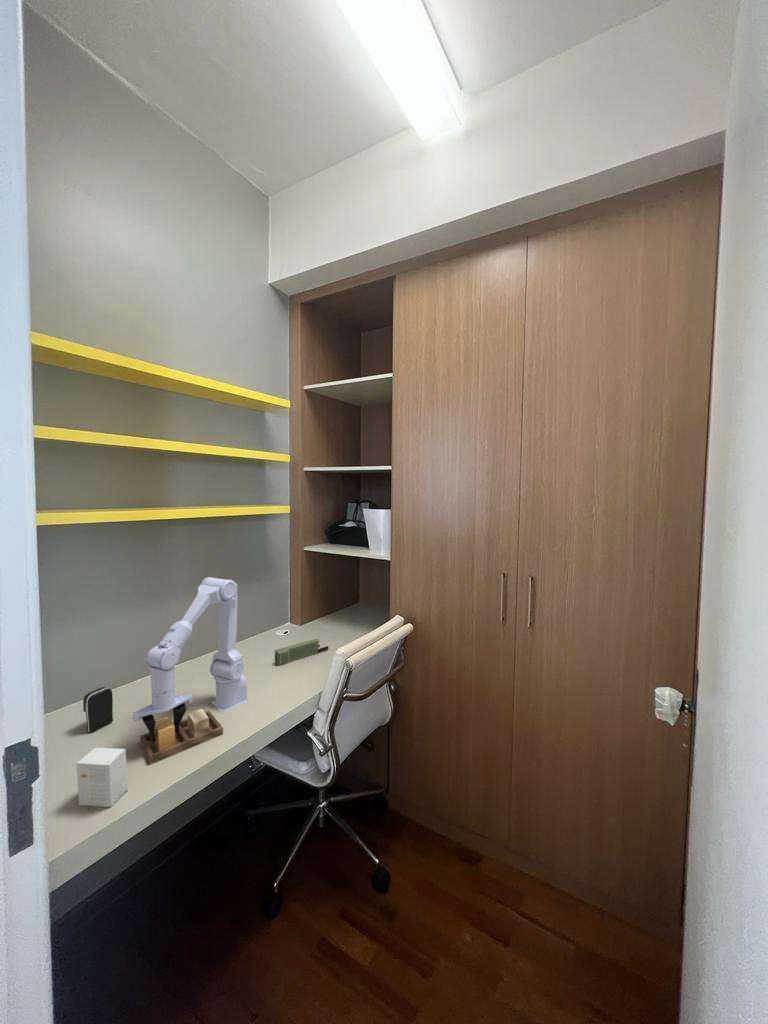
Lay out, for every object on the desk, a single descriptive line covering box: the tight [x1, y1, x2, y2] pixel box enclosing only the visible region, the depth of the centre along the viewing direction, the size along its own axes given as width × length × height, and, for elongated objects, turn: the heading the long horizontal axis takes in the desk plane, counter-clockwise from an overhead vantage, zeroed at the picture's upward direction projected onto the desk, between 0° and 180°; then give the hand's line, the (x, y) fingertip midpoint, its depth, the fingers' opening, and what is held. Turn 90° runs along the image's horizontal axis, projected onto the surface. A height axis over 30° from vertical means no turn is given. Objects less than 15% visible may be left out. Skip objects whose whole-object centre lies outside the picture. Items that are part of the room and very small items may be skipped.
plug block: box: [154, 716, 175, 751], centre depth 111 cm, size 4×6×6 cm, turn 43°
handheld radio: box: [274, 637, 329, 667], centre depth 169 cm, size 7×3×25 cm
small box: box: [76, 747, 129, 808], centre depth 93 cm, size 8×6×10 cm
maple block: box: [187, 708, 209, 738], centre depth 117 cm, size 4×6×5 cm, turn 43°
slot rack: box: [139, 710, 224, 766], centre depth 114 cm, size 19×12×3 cm, turn 133°
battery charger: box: [82, 686, 114, 734], centre depth 120 cm, size 7×4×11 cm, turn 155°
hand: (164, 735), depth 111 cm, fingers open, 5 cm apart
